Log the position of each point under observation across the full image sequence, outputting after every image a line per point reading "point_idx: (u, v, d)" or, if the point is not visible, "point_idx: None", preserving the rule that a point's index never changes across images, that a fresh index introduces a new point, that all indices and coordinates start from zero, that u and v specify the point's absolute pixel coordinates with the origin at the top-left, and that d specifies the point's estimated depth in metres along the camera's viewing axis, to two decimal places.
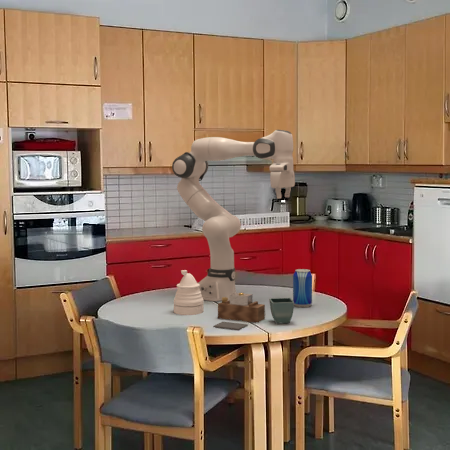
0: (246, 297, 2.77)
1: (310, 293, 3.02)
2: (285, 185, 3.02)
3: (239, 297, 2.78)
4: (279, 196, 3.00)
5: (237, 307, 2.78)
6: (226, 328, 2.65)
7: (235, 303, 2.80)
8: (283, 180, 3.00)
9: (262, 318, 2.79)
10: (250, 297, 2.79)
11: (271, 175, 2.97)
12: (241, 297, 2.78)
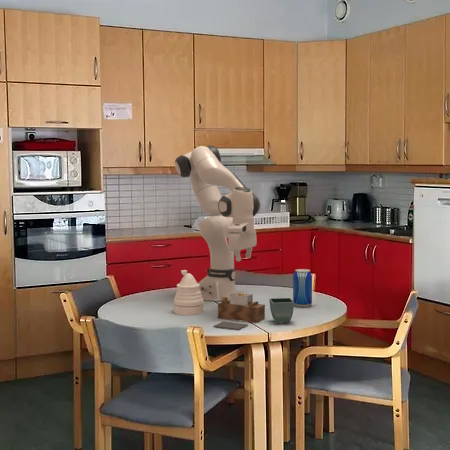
0: (246, 297, 2.77)
1: (310, 293, 3.02)
2: (245, 246, 2.83)
3: (239, 297, 2.78)
4: (238, 259, 2.81)
5: (237, 307, 2.78)
6: (226, 328, 2.65)
7: (235, 303, 2.80)
8: (242, 241, 2.81)
9: (262, 318, 2.79)
10: (250, 297, 2.79)
11: (229, 237, 2.77)
12: (241, 297, 2.78)
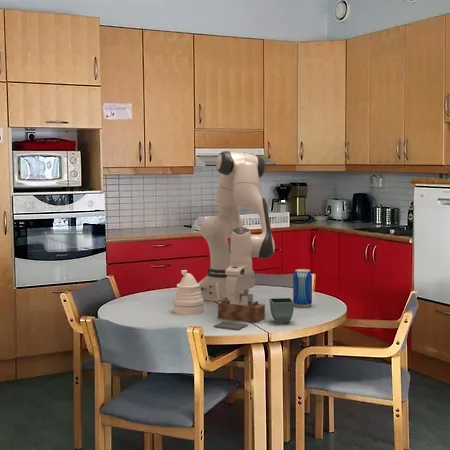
0: (246, 297, 2.77)
1: (310, 293, 3.02)
2: (243, 289, 2.78)
3: None
4: (238, 301, 2.77)
5: (237, 307, 2.78)
6: (226, 328, 2.65)
7: (235, 303, 2.80)
8: (240, 284, 2.76)
9: (262, 318, 2.79)
10: (250, 297, 2.79)
11: (227, 280, 2.72)
12: (241, 297, 2.78)
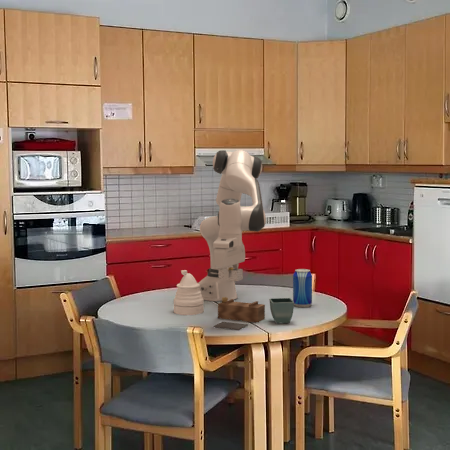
0: (236, 272, 2.63)
1: (310, 293, 3.02)
2: (232, 263, 2.64)
3: None
4: (227, 275, 2.63)
5: (237, 307, 2.78)
6: (226, 328, 2.65)
7: (224, 278, 2.65)
8: (229, 257, 2.61)
9: (262, 318, 2.79)
10: (239, 272, 2.65)
11: (215, 253, 2.58)
12: (230, 272, 2.64)
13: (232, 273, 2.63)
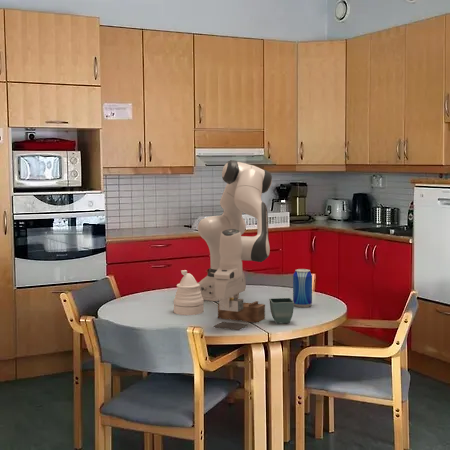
0: (236, 302, 2.64)
1: (310, 293, 3.02)
2: (233, 293, 2.65)
3: (229, 302, 2.65)
4: (227, 306, 2.64)
5: None
6: (226, 328, 2.65)
7: (224, 308, 2.66)
8: (230, 288, 2.62)
9: (262, 318, 2.79)
10: (240, 302, 2.66)
11: (216, 284, 2.59)
12: (231, 302, 2.65)
13: (233, 303, 2.64)
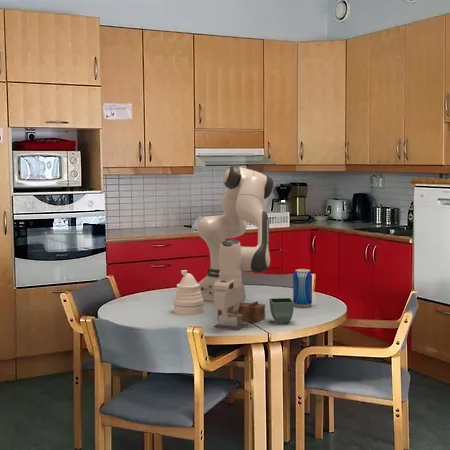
0: (235, 318, 2.64)
1: (310, 293, 3.02)
2: (232, 304, 2.65)
3: (228, 318, 2.66)
4: (225, 317, 2.63)
5: None
6: (226, 328, 2.65)
7: (224, 324, 2.67)
8: (229, 299, 2.63)
9: (262, 318, 2.79)
10: (239, 318, 2.66)
11: (215, 295, 2.59)
12: (230, 318, 2.65)
13: (232, 319, 2.65)
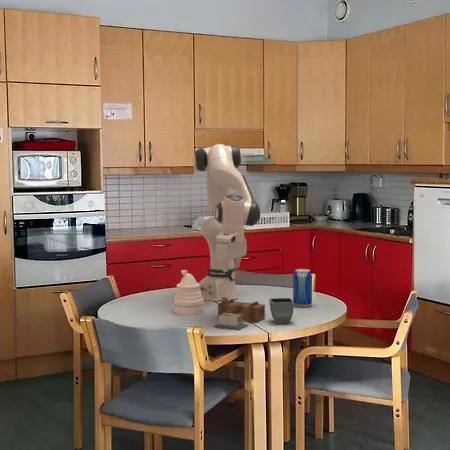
0: (235, 318, 2.64)
1: (310, 293, 3.02)
2: (233, 257, 2.72)
3: (228, 318, 2.66)
4: (225, 269, 2.70)
5: (237, 307, 2.78)
6: (226, 328, 2.65)
7: (224, 324, 2.67)
8: (231, 252, 2.70)
9: (262, 318, 2.79)
10: (239, 318, 2.66)
11: (217, 247, 2.66)
12: (230, 318, 2.65)
13: (232, 319, 2.65)
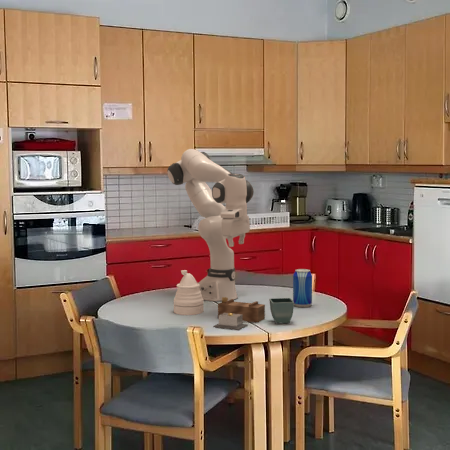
0: (235, 318, 2.64)
1: (310, 293, 3.02)
2: (238, 232, 2.86)
3: (228, 318, 2.66)
4: (231, 244, 2.84)
5: (237, 307, 2.78)
6: (226, 328, 2.65)
7: (224, 324, 2.67)
8: (235, 227, 2.83)
9: (262, 318, 2.79)
10: (239, 318, 2.66)
11: (222, 222, 2.80)
12: (230, 318, 2.65)
13: (232, 319, 2.65)
